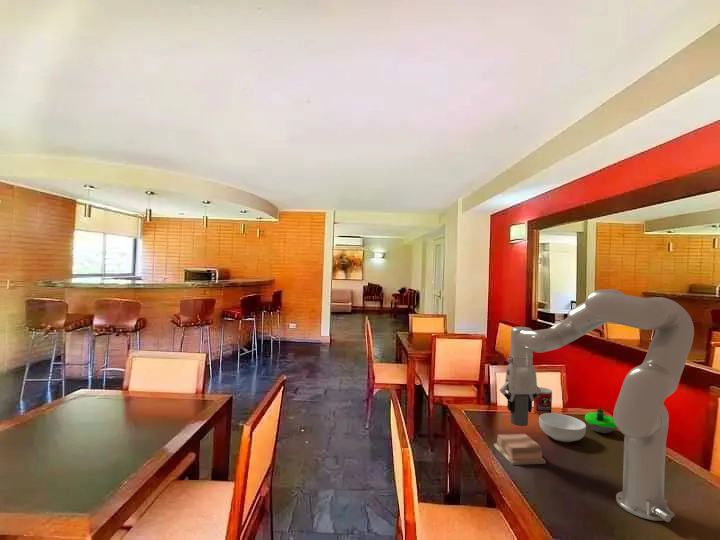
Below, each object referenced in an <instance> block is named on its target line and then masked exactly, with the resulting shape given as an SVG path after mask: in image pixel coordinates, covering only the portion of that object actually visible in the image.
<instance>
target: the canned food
mask: <svg viewBox="0 0 720 540" xmlns="http://www.w3.org/2000/svg"><path fill="white" fill-rule="evenodd" d="M538 387H539V386H538ZM539 389H540V390H541V392H540V393H539V394H537V396H536V397H535V398H534V401H533V412H535V413H534V414H536V413H537V414H536V415H538V414H539V415H538V416H540V415H541V414H544V413H552V405H553V404H552V403H553V402H552V400H553V391H552V390H551V389H549V388H546V387H539Z"/></svg>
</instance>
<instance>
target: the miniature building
mask: <svg viewBox="0 0 720 540" xmlns="http://www.w3.org/2000/svg"><path fill="white" fill-rule="evenodd" d="M596 410H597V411H596V412H587V413H586V414H585V416H584V420H585V421H586V423H587V425H588V426H589V428H591V429H592V430H593V431H594V432H597V433H600V434H609V433H611V432H613V431H615V429H616V428H617V426H616V425H615V422H614V418H613V417H612V416H610V415H607V414H604V409H601V407H599V408H597V409H596Z"/></svg>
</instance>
